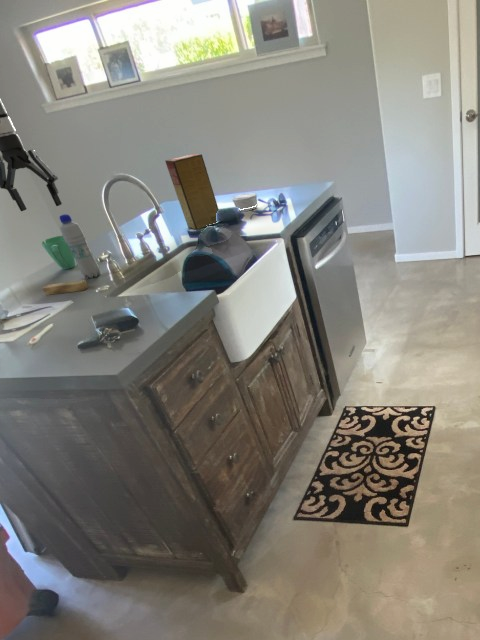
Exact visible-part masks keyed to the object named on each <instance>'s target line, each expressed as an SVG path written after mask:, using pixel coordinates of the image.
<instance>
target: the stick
mask: <svg viewBox="0 0 480 640" xmlns="http://www.w3.org/2000/svg"><path fill="white" fill-rule="evenodd" d="M87 289H89V285H88V283H87V281H86V279H81V280H75V281H67V282H59V283H53V284H52V283H51V284H46V285H44V286H43V287H42V290H43V292H44V294H45V295H46V296H51V295H58V294H66V293H67V294H68V293H75V292H82V291H86V290H87Z"/></svg>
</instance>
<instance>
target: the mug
mask: <svg viewBox="0 0 480 640" xmlns="http://www.w3.org/2000/svg"><path fill="white" fill-rule="evenodd" d="M40 243H41V246H42V247H43V249H44V250H45V251H46V252H47V254H48V255H49V256H50V258H51V259H52V260H53V261H54V262H55V263H56V264H57V266H59V268H61V269H62V270H69V269H72V268H75V267H76V260H75V258H74V256H73V254H72V252H71V249H70V247H69V245H68V244H67V243H66V242H65V239H64V238H63V235H56V236H53V237H49V238H46V239H45V241H44V240H42V241H41V242H40Z"/></svg>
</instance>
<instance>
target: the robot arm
mask: <svg viewBox="0 0 480 640" xmlns="http://www.w3.org/2000/svg"><path fill="white" fill-rule="evenodd" d="M16 132H17V130H16V128H15V125H14V124H13V122H12V120H11V117H10V116H9V113H8V112H7V109H6V107H5V104H4V103H3V101H2V99H1V98H0V153H1V154H0V189H3V190H6V191H7V192H8V194H9V195H10V197H11V200H13V201H15V203H16V205H17V207H18V209H19V210H20V212H24V211H26V210H27V207H26V204H25V203H24V200H23V199H22V197H21V195H20V193H19V191H18V189H17V188H15V186H14V184H15V179H16V178H15V177H16V171H17V170H19V169H28V170H30V171H31V172H33V173H34V174H35V175H36V176H37V177H39V178H40V179H42V181H44V182H46V184H45V185H46V188H47V190H48V192H49V194H50V197H51V198H52V200H53V203H54V205H55V206H56V207H59V206H61V205H62V204H63V203H62V201H61V198H60V196H59V195H58V194H59V190H58V188H57V185H56V183H55V182H56V181H57V180H59V178H58V176H57V175H56V174H55V172H53V170H52V169H51V168H50V167H49V166H48V165H47V163H45V162H44V161H43V160H42V158H41V157H40V156H39V155H38V152H36V150H35V149H34V148H33V149H29V150H26V149H25V147H24V144H23V142H22V140H21V138H20V135H19V134H18V133H16ZM29 158H30V159H31V160H32V161H31V160H30V159H29ZM5 162H6V163H7V167H6V165H5ZM6 169H7V171H6ZM6 173H7V174H6Z"/></svg>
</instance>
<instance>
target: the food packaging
mask: <svg viewBox="0 0 480 640" xmlns="http://www.w3.org/2000/svg"><path fill="white" fill-rule="evenodd" d="M164 161H165V165H166V168H167V171H168V173H169V176H170V180H171V182H172V186H173V188H174V190H175V191H174V192H175V194H176V196H177V200H178V203H179V205H180V208H181V211H182V214H183V217H184V220H185V222H186V226H187V229H191V230H195V231H197V230H200V229H204V228H206V227H205V226H206V225H209V224H213V223H216V222H217V221H216V213H217V211H218V210H219V211H220V209H219V206H218V204H217V199H216V197H215V193H214V190H213V186H212V183H211V181H210V177H209V173H208V169H207V166H206V163H205V160H204V157H203V154H202V153H192V154H187V155H182V156H179V157H175V158H171V159H165V160H164ZM203 227H204V228H203Z"/></svg>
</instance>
